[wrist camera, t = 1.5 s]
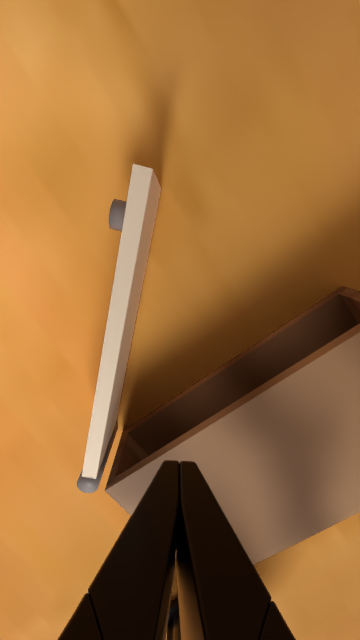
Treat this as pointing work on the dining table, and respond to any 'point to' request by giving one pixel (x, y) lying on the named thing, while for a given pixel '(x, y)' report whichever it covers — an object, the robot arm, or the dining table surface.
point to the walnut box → (266, 432)
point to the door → (120, 316)
